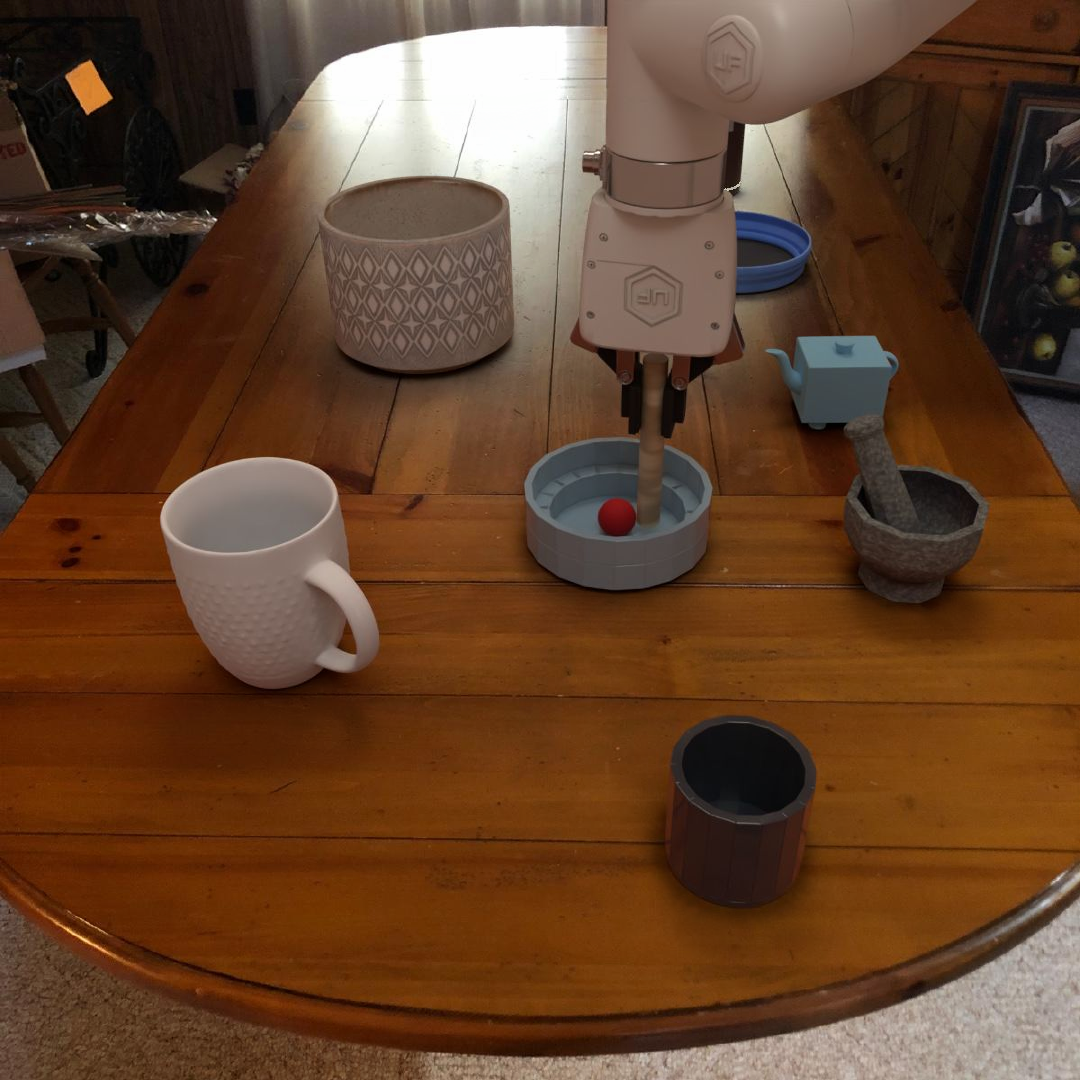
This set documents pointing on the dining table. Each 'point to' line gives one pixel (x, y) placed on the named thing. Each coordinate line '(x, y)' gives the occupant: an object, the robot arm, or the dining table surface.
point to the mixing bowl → (579, 492)
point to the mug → (268, 571)
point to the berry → (617, 517)
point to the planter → (419, 272)
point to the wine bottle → (734, 155)
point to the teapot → (837, 377)
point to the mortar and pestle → (907, 519)
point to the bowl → (768, 251)
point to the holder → (738, 810)
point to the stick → (651, 440)
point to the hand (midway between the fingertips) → (652, 425)
